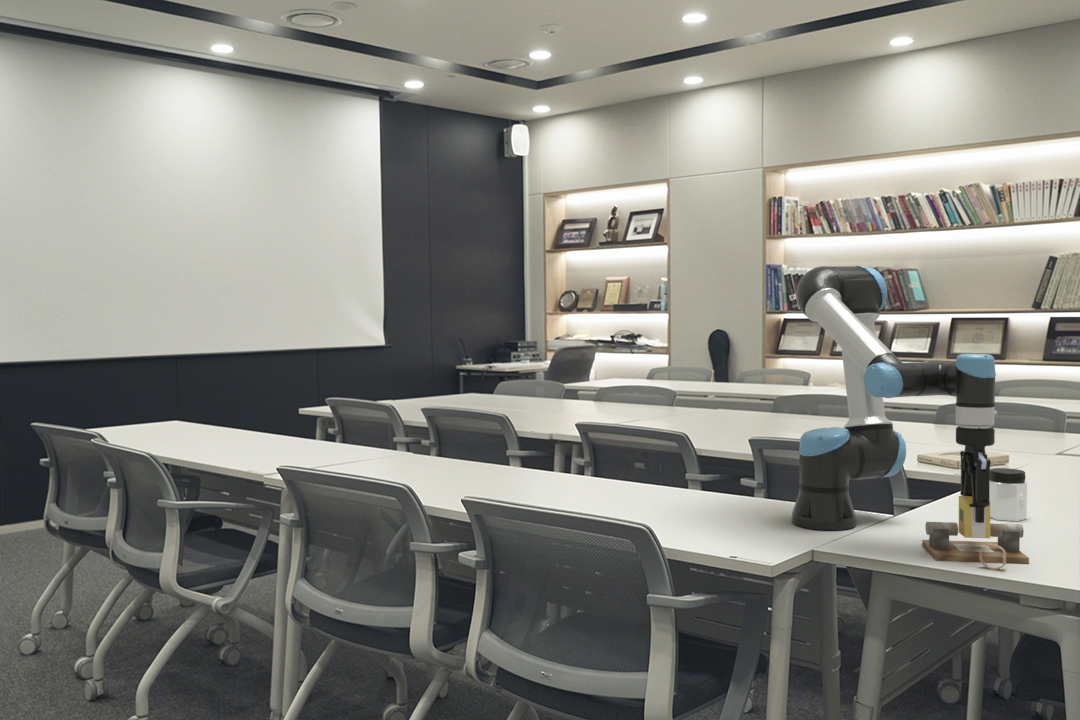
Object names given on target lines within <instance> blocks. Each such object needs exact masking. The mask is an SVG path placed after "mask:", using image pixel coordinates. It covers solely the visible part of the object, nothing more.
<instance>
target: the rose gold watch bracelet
mask: <svg viewBox="0 0 1080 720" xmlns="http://www.w3.org/2000/svg"><path fill="white" fill-rule="evenodd" d="M987 546H996V547H998V548H1000V549H1001V550H1002V551H1003V564H1002V565H1000V566H998V567H992V566H989V565H988V564H986V562H984V561H983V559H982V550H983V549H984V548H985V547H987ZM979 558H980V561H981V562H980V563H981V565H983V566H984V567H985V568H987V569H989V570H992V571H993V570H994V571H995V570H1000V569H1002V568H1003V567H1004V566H1005V565H1006V564H1007V563H1006V552H1005V550H1004V549H1003V548H1002V547H1001V546H998V545H996V544H988V545H986V546H984V547H983V548H982V549H981V551H980V554H979Z"/></svg>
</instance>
